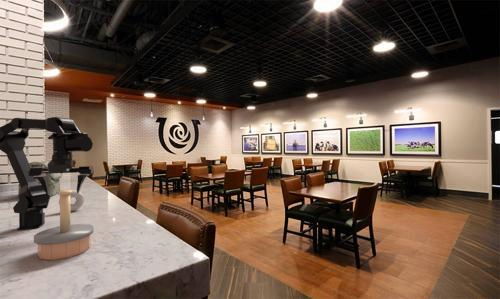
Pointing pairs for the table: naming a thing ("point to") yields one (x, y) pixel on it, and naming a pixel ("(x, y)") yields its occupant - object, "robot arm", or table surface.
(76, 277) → the table surface
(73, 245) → the bowl
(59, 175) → the lunch bag
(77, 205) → the donut
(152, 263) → the table surface
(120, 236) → the table surface
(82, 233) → the cover
